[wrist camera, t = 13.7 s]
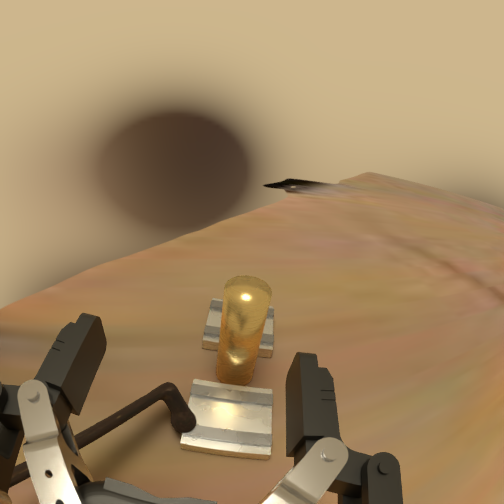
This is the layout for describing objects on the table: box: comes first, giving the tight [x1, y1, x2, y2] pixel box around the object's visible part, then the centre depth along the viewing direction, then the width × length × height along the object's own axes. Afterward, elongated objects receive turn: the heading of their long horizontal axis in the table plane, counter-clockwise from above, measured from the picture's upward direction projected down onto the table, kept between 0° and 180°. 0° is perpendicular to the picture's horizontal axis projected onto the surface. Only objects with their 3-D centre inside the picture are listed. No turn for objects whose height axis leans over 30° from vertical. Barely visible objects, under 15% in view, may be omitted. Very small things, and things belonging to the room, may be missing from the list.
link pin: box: [216, 276, 272, 386], centre depth 29 cm, size 4×4×12 cm
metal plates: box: [180, 298, 274, 460], centre depth 32 cm, size 8×20×2 cm, turn 177°
